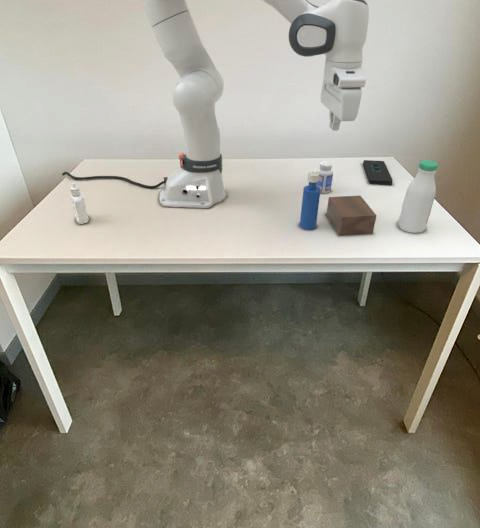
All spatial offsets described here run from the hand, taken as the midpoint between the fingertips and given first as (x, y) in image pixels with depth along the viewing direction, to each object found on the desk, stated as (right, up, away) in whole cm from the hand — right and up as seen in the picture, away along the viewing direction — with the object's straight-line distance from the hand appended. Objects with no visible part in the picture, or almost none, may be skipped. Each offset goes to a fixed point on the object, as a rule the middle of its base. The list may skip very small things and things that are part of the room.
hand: (333, 129), depth 109 cm
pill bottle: (+4, -11, +33) cm, 35 cm away
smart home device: (+27, -2, +45) cm, 52 cm away
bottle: (0, -23, +11) cm, 26 cm away
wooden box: (+8, -24, +13) cm, 29 cm away
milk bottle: (+26, -25, +12) cm, 38 cm away
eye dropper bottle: (-73, -23, +15) cm, 78 cm away
